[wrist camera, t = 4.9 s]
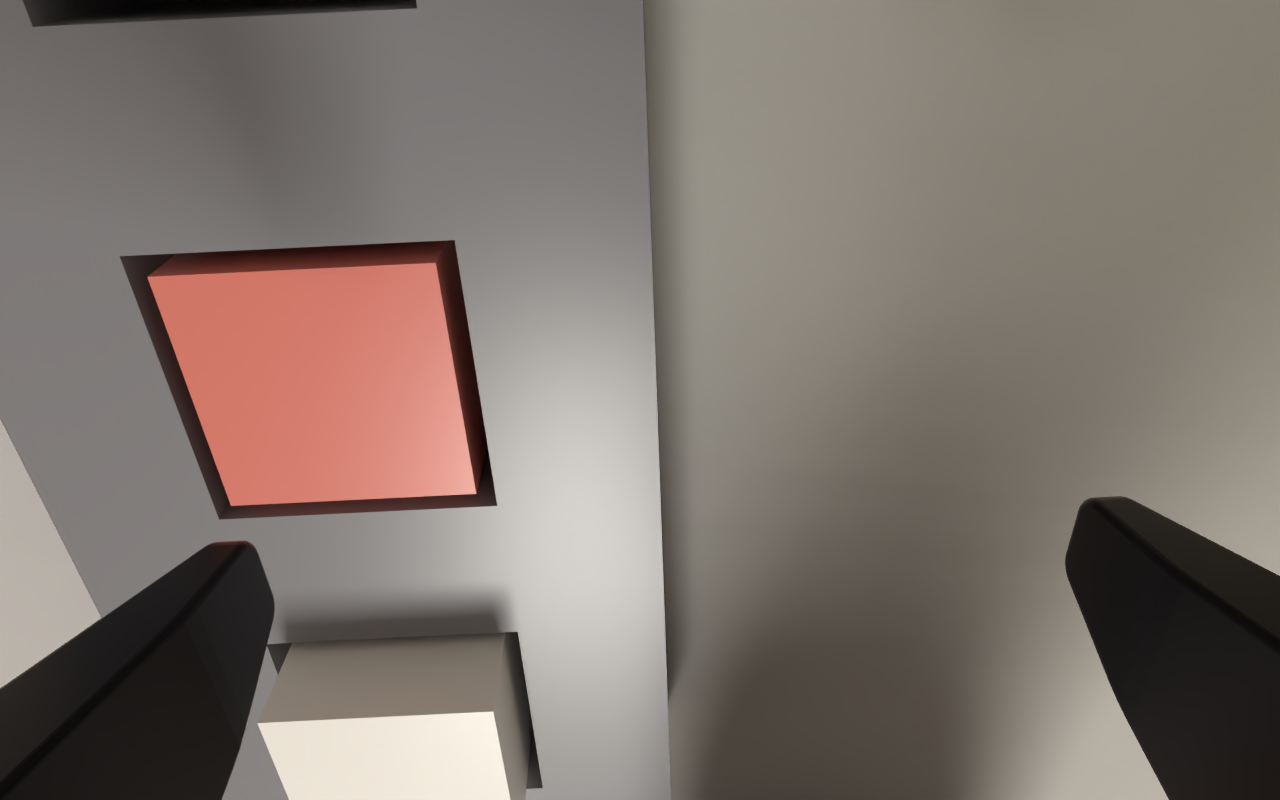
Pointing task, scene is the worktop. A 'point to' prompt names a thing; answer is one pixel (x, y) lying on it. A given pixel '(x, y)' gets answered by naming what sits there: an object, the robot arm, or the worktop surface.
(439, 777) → the button
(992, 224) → the worktop surface
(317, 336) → the red button
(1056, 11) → the worktop surface
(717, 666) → the worktop surface
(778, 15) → the worktop surface
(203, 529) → the button panel
